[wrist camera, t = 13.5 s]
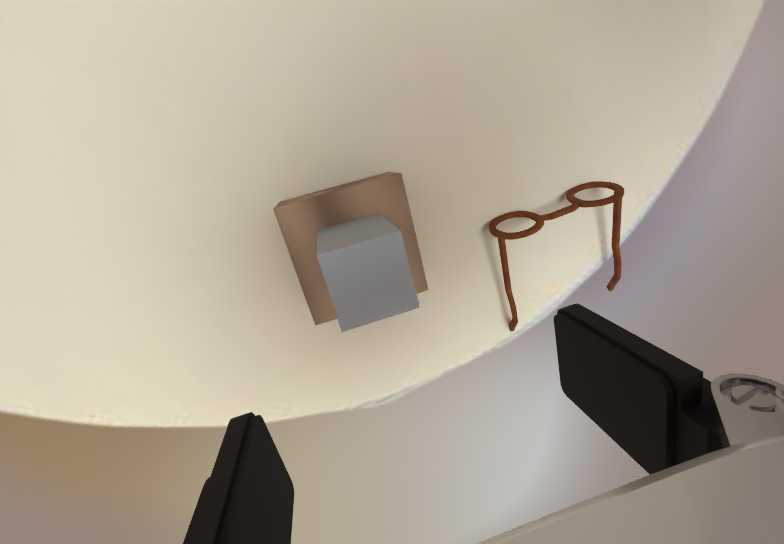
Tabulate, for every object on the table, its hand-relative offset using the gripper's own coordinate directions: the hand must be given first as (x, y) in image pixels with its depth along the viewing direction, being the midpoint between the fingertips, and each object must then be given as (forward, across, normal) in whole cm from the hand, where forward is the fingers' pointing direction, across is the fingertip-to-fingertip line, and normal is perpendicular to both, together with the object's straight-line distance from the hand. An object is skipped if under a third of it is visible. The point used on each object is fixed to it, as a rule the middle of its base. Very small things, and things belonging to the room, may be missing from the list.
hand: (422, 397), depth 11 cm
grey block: (+19, 0, 0) cm, 19 cm away
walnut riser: (+24, 0, 0) cm, 24 cm away
